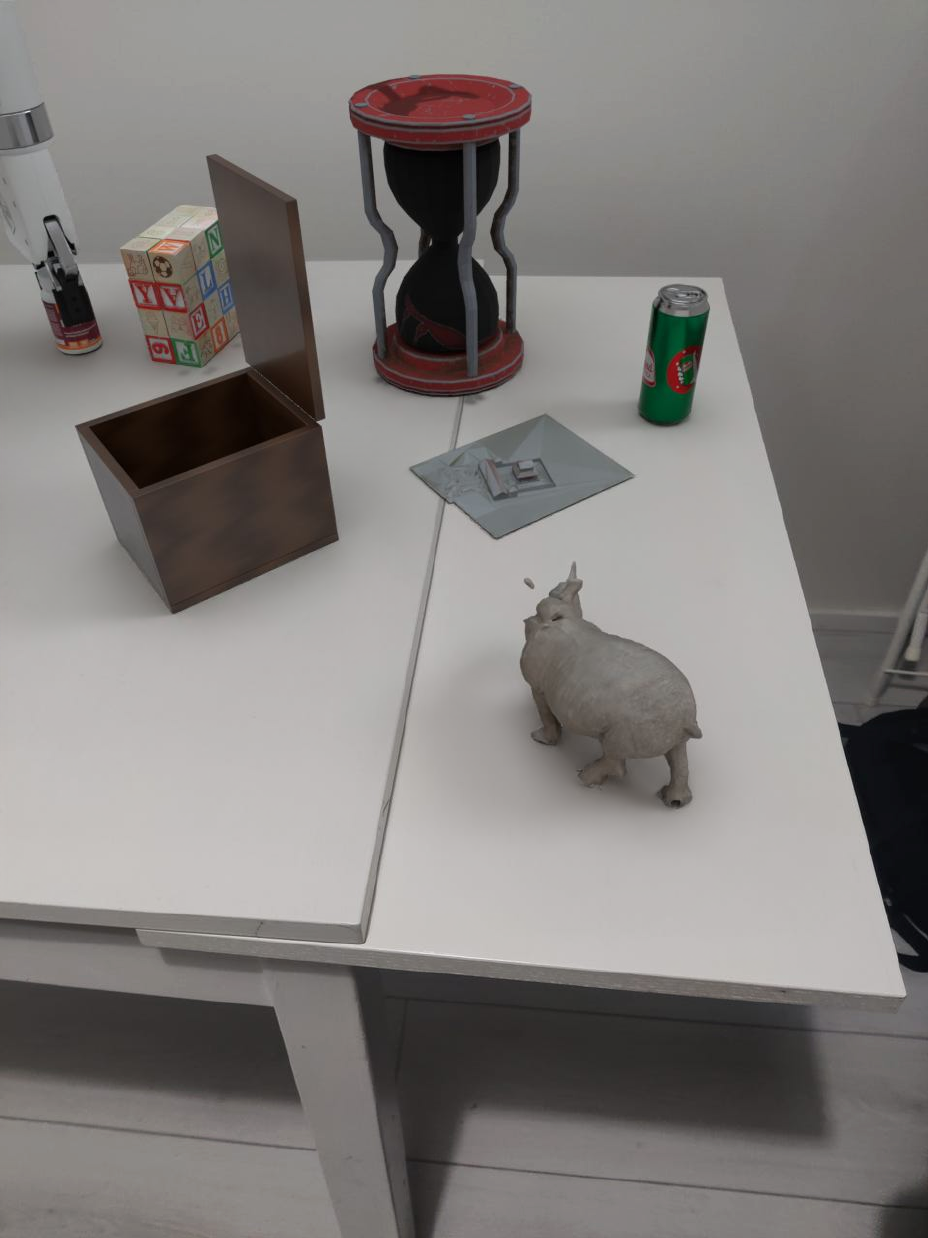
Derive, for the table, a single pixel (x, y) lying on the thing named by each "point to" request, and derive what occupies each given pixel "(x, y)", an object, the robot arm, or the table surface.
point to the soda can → (673, 353)
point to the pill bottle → (66, 337)
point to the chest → (212, 484)
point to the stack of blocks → (182, 286)
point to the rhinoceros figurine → (606, 692)
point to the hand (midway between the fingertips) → (70, 312)
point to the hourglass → (443, 226)
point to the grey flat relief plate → (521, 474)
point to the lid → (268, 281)
